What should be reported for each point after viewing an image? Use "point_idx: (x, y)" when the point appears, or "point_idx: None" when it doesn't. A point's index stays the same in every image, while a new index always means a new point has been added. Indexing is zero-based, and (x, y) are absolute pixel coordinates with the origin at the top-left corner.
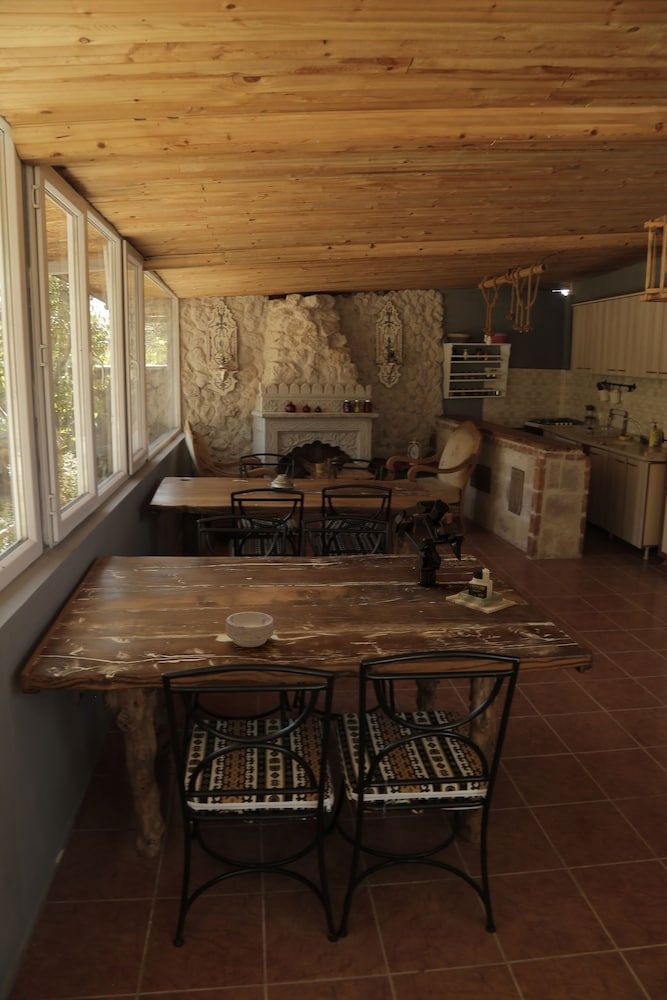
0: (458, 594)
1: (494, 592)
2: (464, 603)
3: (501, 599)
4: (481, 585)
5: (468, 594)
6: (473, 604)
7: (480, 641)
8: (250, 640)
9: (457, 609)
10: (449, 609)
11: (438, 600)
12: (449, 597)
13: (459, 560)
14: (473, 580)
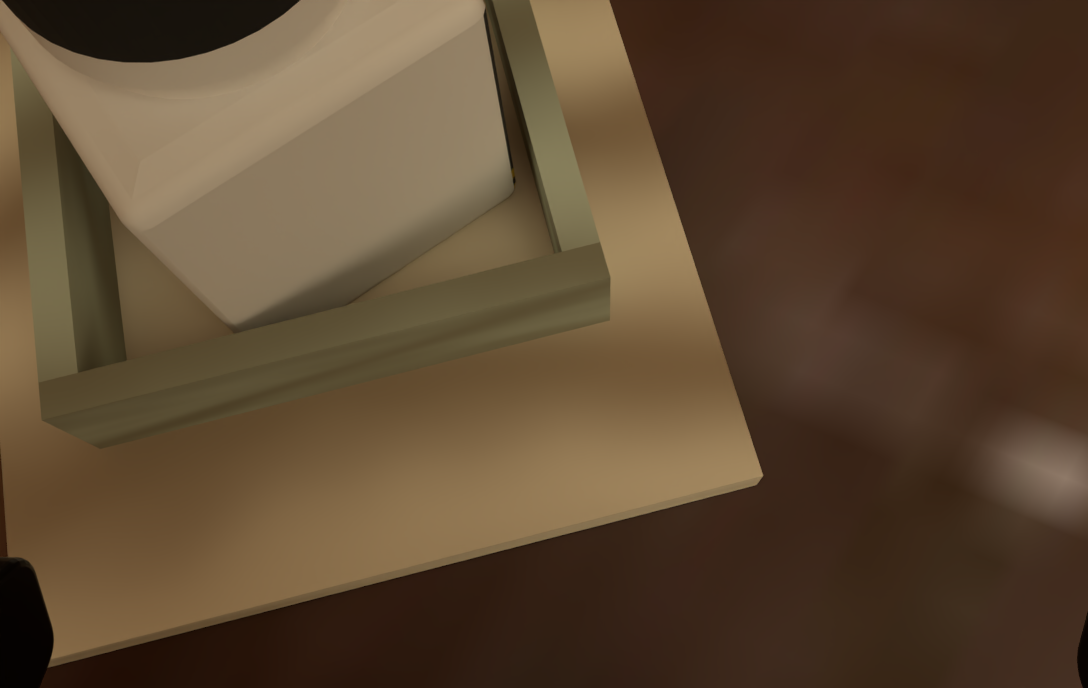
0: (461, 517)
1: None
2: (646, 118)
3: None
4: None
5: (506, 139)
6: (555, 28)
7: None
8: None
9: (827, 57)
10: (941, 96)
11: (894, 514)
12: (709, 442)
13: (47, 612)
14: (327, 28)
